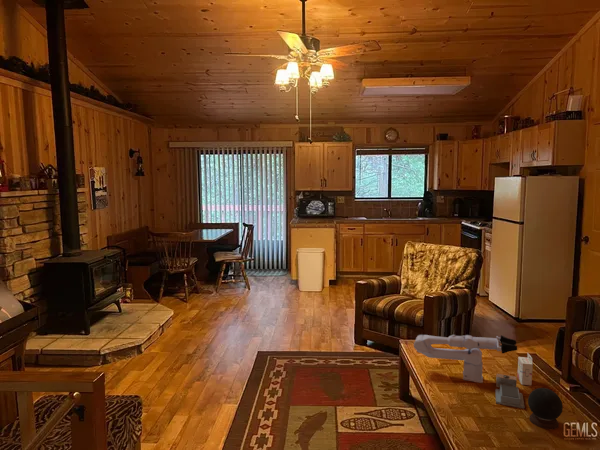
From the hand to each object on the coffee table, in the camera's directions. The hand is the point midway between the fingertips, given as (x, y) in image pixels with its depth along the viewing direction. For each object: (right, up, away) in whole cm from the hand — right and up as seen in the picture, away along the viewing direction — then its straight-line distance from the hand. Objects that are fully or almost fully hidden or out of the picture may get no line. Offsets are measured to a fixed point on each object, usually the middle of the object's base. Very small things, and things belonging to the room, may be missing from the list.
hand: (516, 345), depth 216 cm
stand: (-9, -23, -11) cm, 27 cm away
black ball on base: (-3, -26, -30) cm, 39 cm away
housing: (-5, -22, +1) cm, 22 cm away
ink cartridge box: (+7, -21, +7) cm, 24 cm away
